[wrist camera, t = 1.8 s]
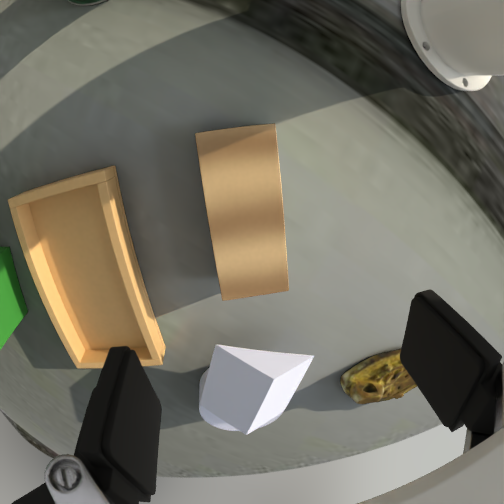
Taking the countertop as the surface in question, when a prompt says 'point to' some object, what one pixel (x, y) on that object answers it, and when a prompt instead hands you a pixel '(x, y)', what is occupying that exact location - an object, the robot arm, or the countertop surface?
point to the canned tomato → (85, 2)
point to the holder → (87, 267)
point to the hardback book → (9, 297)
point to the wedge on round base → (248, 387)
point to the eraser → (244, 209)
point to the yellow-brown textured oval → (377, 379)
